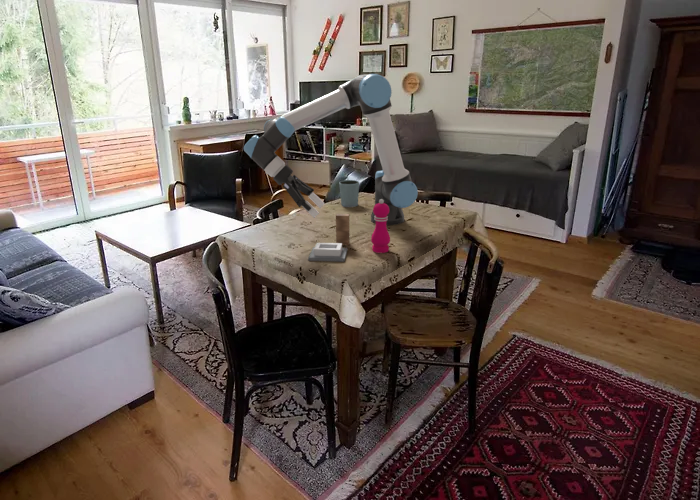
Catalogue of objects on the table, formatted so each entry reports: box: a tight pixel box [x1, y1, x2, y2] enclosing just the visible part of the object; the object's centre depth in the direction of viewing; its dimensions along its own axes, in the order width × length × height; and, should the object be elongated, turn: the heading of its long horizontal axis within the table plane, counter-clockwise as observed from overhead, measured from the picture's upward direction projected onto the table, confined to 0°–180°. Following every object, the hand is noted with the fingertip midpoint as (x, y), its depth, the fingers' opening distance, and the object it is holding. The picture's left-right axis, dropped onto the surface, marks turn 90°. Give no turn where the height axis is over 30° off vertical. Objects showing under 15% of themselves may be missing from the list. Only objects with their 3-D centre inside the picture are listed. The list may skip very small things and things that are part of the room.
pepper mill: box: [370, 199, 391, 254], centre depth 174 cm, size 7×7×20 cm
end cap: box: [308, 242, 348, 263], centre depth 172 cm, size 13×11×4 cm
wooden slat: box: [335, 213, 351, 246], centre depth 182 cm, size 5×2×12 cm, turn 85°
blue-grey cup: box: [338, 179, 360, 208], centre depth 237 cm, size 10×10×12 cm
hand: (319, 210), depth 180 cm, fingers open, 13 cm apart
